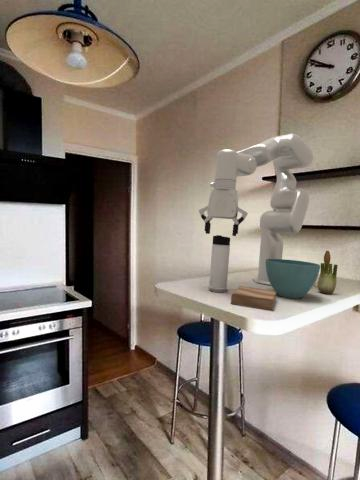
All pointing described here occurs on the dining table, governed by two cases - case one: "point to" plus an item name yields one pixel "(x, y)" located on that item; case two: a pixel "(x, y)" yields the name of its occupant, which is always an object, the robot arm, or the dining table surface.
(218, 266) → the travel mug
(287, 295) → the teal bowl
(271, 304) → the walnut board
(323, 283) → the fennel bulb
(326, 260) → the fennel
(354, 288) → the dining table surface
